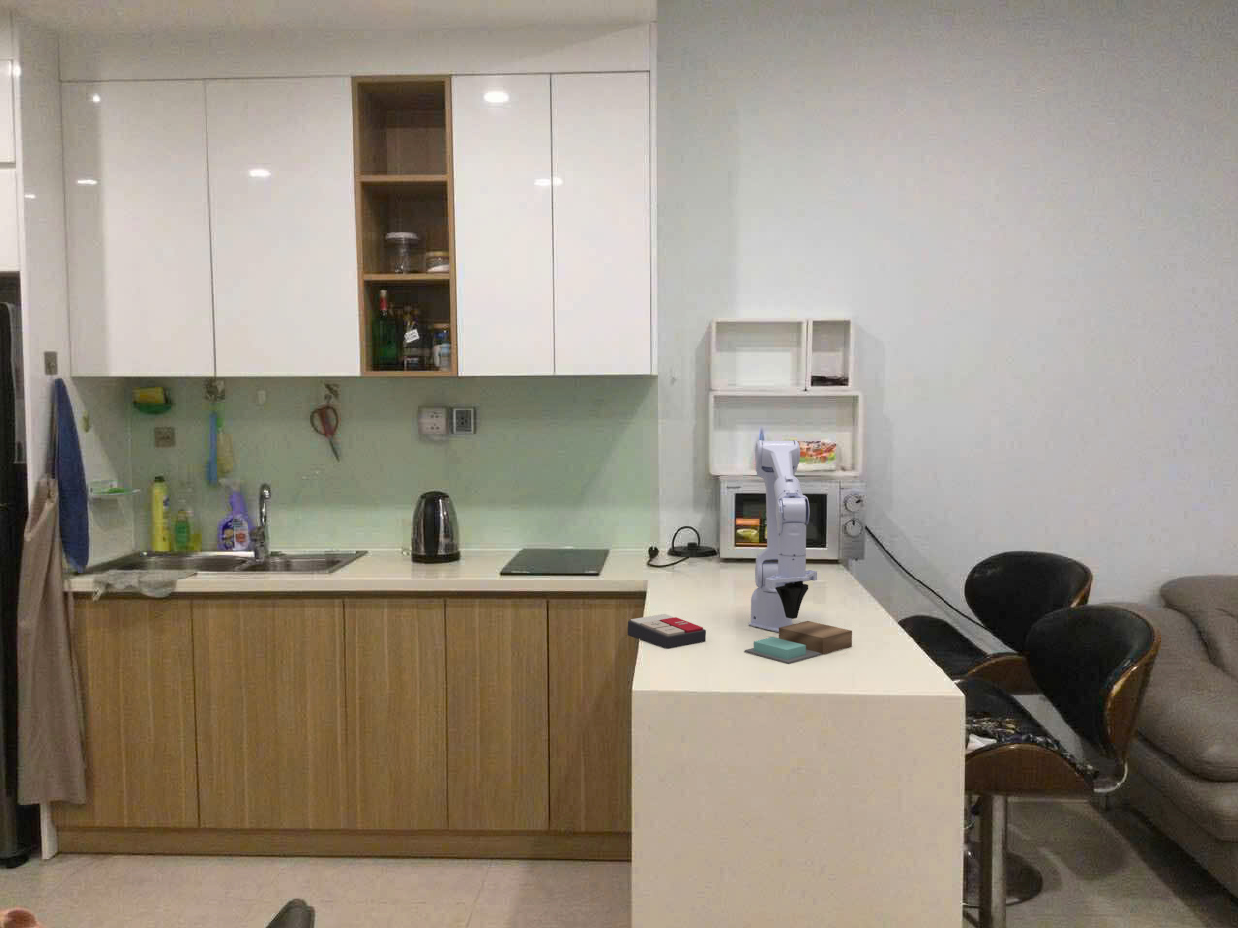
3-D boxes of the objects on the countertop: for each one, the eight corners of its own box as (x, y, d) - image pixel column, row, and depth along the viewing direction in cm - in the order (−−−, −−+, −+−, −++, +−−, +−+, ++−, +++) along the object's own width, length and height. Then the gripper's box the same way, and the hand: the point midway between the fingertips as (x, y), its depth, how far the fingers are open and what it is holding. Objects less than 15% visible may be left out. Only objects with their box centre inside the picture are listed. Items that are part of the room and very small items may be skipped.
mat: (744, 651, 194) (744, 650, 194) (777, 643, 201) (777, 641, 201) (788, 663, 185) (788, 662, 185) (821, 654, 191) (821, 653, 191)
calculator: (667, 633, 196) (627, 617, 208) (667, 653, 197) (626, 635, 209) (707, 626, 202) (665, 611, 215) (706, 645, 203) (664, 629, 215)
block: (772, 636, 197) (772, 645, 197) (753, 641, 193) (753, 650, 193) (805, 645, 190) (805, 654, 190) (787, 649, 186) (786, 659, 186)
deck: (778, 643, 201) (778, 627, 201) (807, 636, 207) (807, 620, 207) (822, 654, 192) (823, 638, 192) (851, 646, 198) (852, 630, 198)
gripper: (784, 560, 186) (783, 626, 186) (828, 552, 195) (828, 615, 196) (757, 556, 191) (757, 620, 192) (802, 548, 200) (801, 610, 201)
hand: (791, 617), depth 194 cm, fingers closed
